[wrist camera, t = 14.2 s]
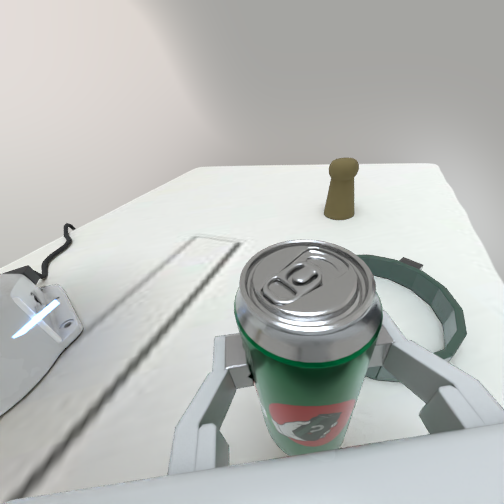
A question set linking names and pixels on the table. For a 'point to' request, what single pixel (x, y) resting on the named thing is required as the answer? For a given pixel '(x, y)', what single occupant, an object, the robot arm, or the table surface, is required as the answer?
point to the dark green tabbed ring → (430, 292)
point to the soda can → (307, 338)
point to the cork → (341, 189)
